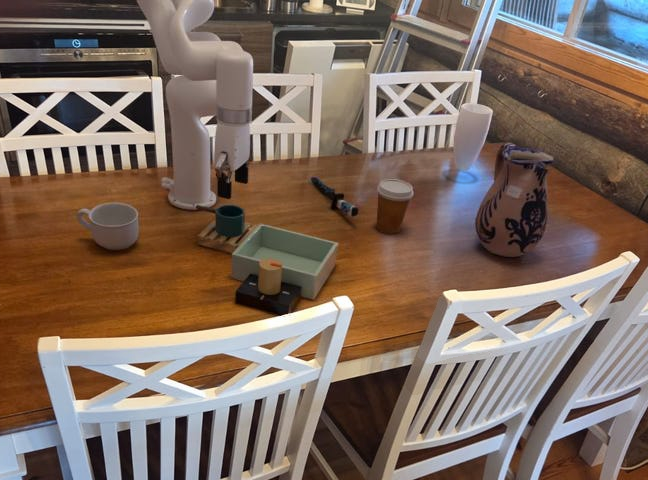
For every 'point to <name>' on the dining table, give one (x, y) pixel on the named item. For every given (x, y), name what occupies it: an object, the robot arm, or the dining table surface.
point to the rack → (223, 238)
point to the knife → (335, 198)
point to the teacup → (112, 225)
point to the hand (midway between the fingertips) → (233, 189)
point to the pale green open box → (287, 257)
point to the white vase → (470, 134)
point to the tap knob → (270, 276)
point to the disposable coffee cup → (392, 204)
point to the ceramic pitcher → (515, 202)
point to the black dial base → (268, 296)
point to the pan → (227, 219)
